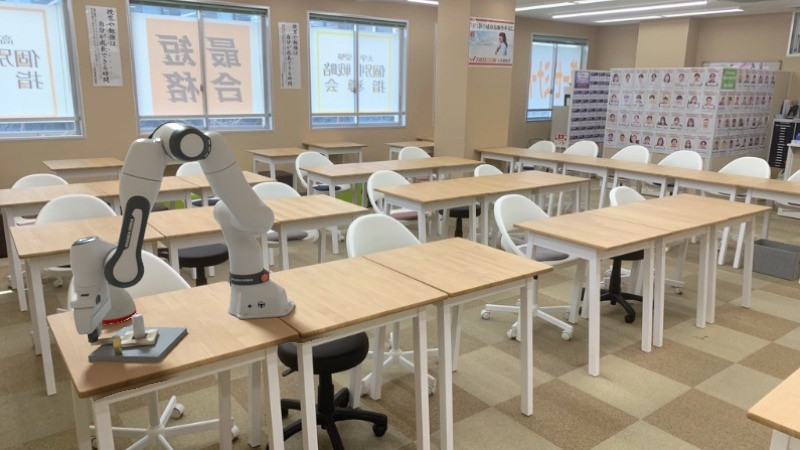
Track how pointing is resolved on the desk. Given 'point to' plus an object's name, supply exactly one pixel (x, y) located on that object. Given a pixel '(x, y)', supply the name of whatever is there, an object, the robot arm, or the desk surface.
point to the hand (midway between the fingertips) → (97, 335)
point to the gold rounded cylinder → (117, 345)
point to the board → (142, 352)
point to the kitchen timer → (119, 305)
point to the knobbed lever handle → (125, 338)
